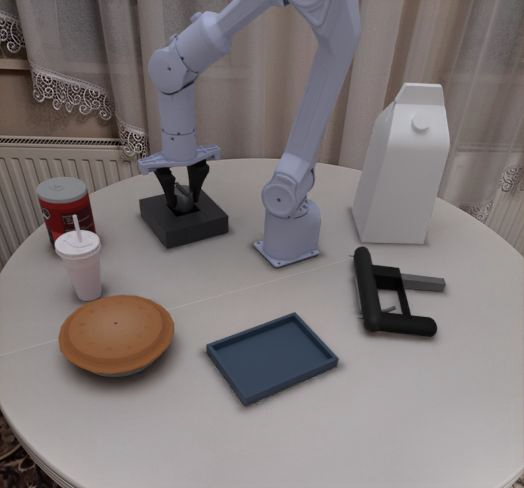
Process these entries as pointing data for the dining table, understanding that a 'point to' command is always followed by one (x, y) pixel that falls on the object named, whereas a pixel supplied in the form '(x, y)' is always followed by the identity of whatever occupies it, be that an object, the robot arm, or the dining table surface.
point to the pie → (116, 335)
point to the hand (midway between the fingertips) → (182, 203)
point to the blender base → (183, 220)
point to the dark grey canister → (183, 200)
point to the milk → (403, 167)
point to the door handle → (394, 280)
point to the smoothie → (81, 261)
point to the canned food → (65, 206)
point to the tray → (270, 357)
